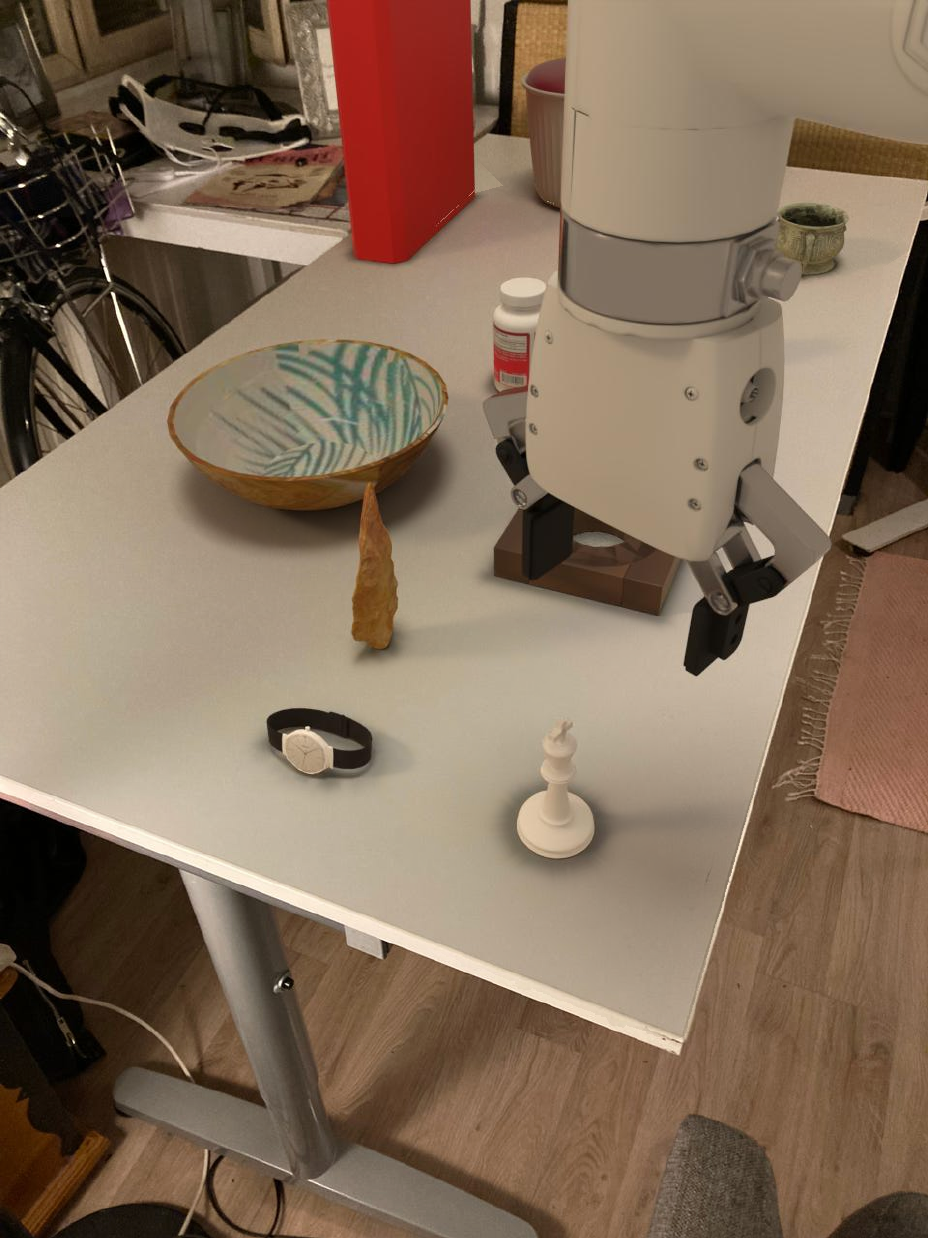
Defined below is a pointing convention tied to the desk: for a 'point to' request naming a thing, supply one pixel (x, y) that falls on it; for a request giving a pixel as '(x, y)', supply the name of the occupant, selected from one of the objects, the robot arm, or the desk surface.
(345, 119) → the book
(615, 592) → the socket plate
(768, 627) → the desk surface
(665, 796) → the desk surface
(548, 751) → the chess piece
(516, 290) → the pill bottle
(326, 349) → the bowl
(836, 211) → the vessel
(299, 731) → the watch
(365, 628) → the stone tool
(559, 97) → the canister
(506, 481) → the desk surface
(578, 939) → the desk surface
